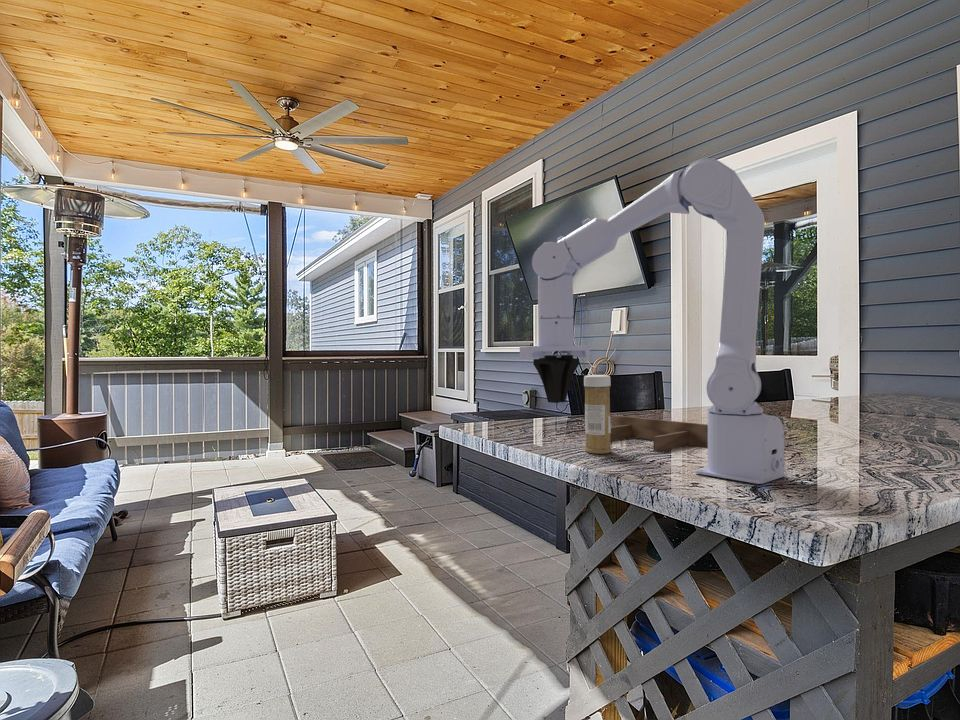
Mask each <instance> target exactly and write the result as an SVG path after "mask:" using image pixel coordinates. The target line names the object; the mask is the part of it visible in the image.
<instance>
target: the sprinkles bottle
mask: <svg viewBox="0 0 960 720" xmlns="http://www.w3.org/2000/svg"><path fill="white" fill-rule="evenodd" d="M611 383H612V382H611V376H610V375H607V374H589V375H584V376H583V386H584V429H585V430H584V432H585V450H584V451H585V452H586V453H589V454H595V455H597V454H598V455H604V454H609V453H611V452H612V447H611V446H612V445H611V441H610V433H611V427H612V418H611V403H610V402H611V397H610V395H611V393H610V391H611V390H610V389H611Z"/></svg>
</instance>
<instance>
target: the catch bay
mask: <svg viewBox="0 0 960 720" xmlns="http://www.w3.org/2000/svg"><path fill="white" fill-rule="evenodd" d="M628 438H634V439H635V438H636V439H643V440H650V441H653V442H652V443H653V445H652V447H653V452H661V451H665V450H670V449H671V450H672V449H675V448H680V447H685V446H695V447H704V448H708V423H707V424H705V423H696V422H687V421H678V420H677V421H675V420H667V419H666V420H665V419H655V418H648V417H647V418H646V417H638V416H637V417H636V416H627V415H617V414H615V415H614V414H612V415H611V433H610V442H611V441H617V440H623V439H624V440H625V439H628Z"/></svg>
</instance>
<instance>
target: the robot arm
mask: <svg viewBox="0 0 960 720" xmlns="http://www.w3.org/2000/svg"><path fill="white" fill-rule="evenodd" d="M689 207H692V208H693V210H694V211H695V212H696V213H698V214H699V215H701V216H703V217H706V218H708V219H711V220H713V221H716V223H717V224H719V226H721V227H722V228H723V229H724V230H725V231H727V232H726V233H727V234H726V235H727V236H726V248H725V261H724V273H723V274H724V276H723V288H722V290H723V291H722V306H721V319H720V333H719V343H718V348H717V353H716V356H715V366H714V369H713V371H712V373H711V374H710V375H709V378H708V380H707V382H706V387H705V388H706V394H707V397H708V400H709V401H710V402H711V404H712V406H708V407H707V424H708V447H707V466H705V467H701V468H697V469H695V470H694V471H695V474H699V475H704V476H711V477H716V478H721V479H725V480H727V479H728V480H732V481H738V482H744V483H751V484H754V485H755V484H757V485H762V484H766V483H768V482H772V481H775V480H778V479H780V478H783V477H787V475H788V473H787V472H785V429H784V425H783V422H782V420H781V419H780V418H779V417H778V416H776V415H770V414H769V415H768V414H765V413H764V408H763V407H762V406H760V405H759V403H758V402H757V401H755V400H756V399H758V397H759V395H760V394H761V391H762V381H761V380H762V379H761V377H760V375H759V372H758V371H757V365H756V364H757V362H756V361H757V349H756V348H757V347H756V343H757V332H758V331H757V330H758V329H757V328H758V319H759V318H758V317H759V303H760V293H761V292H760V291H761V276H762V266H763V265H762V263H763V250H764V238H765V237H764V236H765V215H764V212H763V211H762V209H761V207H760V206H759V205H758V203H757V202H756V201H755V199H754V198H753V196H752V195H751V193H750V192H749V191H748V189H747V188H746V185H744V183H743V182H742V180H741V179H740V177H739V175H738V174H737V173H736V171H735V170H734V169H732V168H731V167H729V166H727V164H724V163H723V162H721V161H720V160H718V159H715V158H712V157H706V158H705V157H704V158H700V159H698V160H695V161H693V162H692V163H690V164H689V165H688V166H687V167H686V168H685V169H684V168H681V169H679V170H677V171H674V172H673V173H672V174H671V175H670V176H668V177H667V178H666V179H665V180H663V181H662V182H661V183H660V184H658V185H657V186H655V187H654V188H652V189H650V190H649V191H647V192H646V193H644V194H643V195H642V196H641V197H638V198H637V199H635V200H633V202H632V203H630V204H629V205H626V207H624V208H623V209H621V210H620V211H617V212H616V213H615V214H613V215H612V216H611V217H609V218H607V219H604V218H601V217H594V218H593V219H591V218H589V217H588V218H586V219H584V220H583V221H582V222H581V223H582V226H580V227H578V228H576V229H575V230H573V231H572V232H570V233H568V234H567V235H566V236H564V235H560V236H559V237H557V238H556V242H554V241H547V242H543V243H542V244H540V246H539V247H537V249H536V250H535V252H534V253H533V255H532V258H531V266H532V269H533V272H534V273H535V274H536V275H537V314H538V315H537V319H538V323H537V324H538V325H537V328H538V329H537V330H538V331H537V333H538V346H535V345H533V346H532V345H531V346H529V345H528V346H524V345H523V346H519V359H525V360H528V359H529V360H530V359H531V360H533V362H532V364H533V366H534V368H535V370H536V372H537V374H538V375H539V378H540V380H541V382H542V385H543V389H544V393H545V396H546V401H547V402H548V403H554V404H558V403H559V404H560V403H566V401H567V397H568V392H569V388H570V385H571V382H572V379H573V376H574V374H575V372H576V370H577V368H578V367H579V365H580V358H590V356H591V348H590V347H591V346H590V345H574V339H575V337H574V334H575V333H574V285H573V283H574V281H573V280H574V278H575V276H576V275H577V273H578V270H581V269H584V267H586V266H588V265H590V264H592V263H593V262H595V261H597V260H598V259H600V258H602V257H604V256H605V255H607V254H609V253H610V252H612V251H614V250H615V248H616V246H617V243H618V240H619V239H620V238H621V237H622V236H625V235H626V234H628V233H631V232H632V231H634V230H636V229H638V228H640V227H642V226H644V225H645V224H647V223H650V222H651V221H654V220H655V219H657V218H659V217H661V216H663V215H665V214H669V213H670V214H684V215H689V214H690V208H689ZM553 352H559V353H560V354H553Z"/></svg>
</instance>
